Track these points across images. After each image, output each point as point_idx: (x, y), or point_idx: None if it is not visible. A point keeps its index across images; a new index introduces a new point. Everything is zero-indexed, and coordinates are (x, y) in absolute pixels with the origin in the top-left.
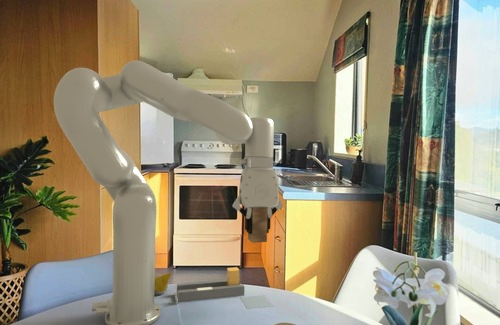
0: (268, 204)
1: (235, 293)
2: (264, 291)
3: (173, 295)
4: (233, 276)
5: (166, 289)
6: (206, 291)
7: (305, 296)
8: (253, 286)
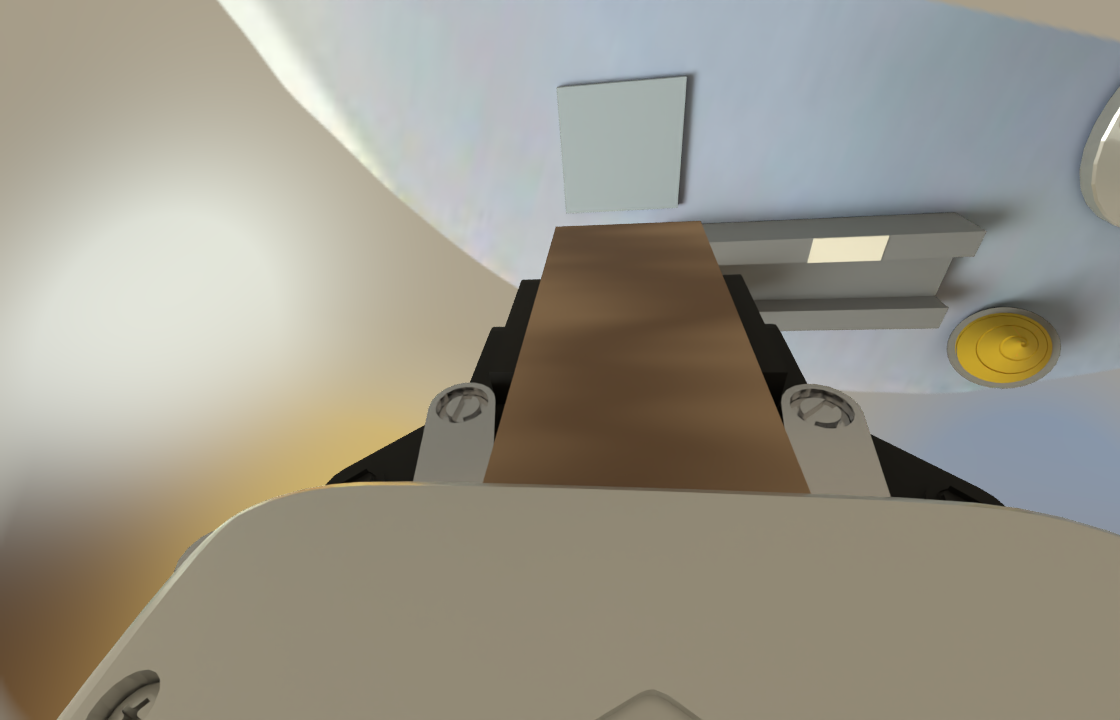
0: (449, 520)
1: None
2: None
3: None
4: None
5: (954, 332)
6: (841, 234)
7: (389, 182)
8: None
